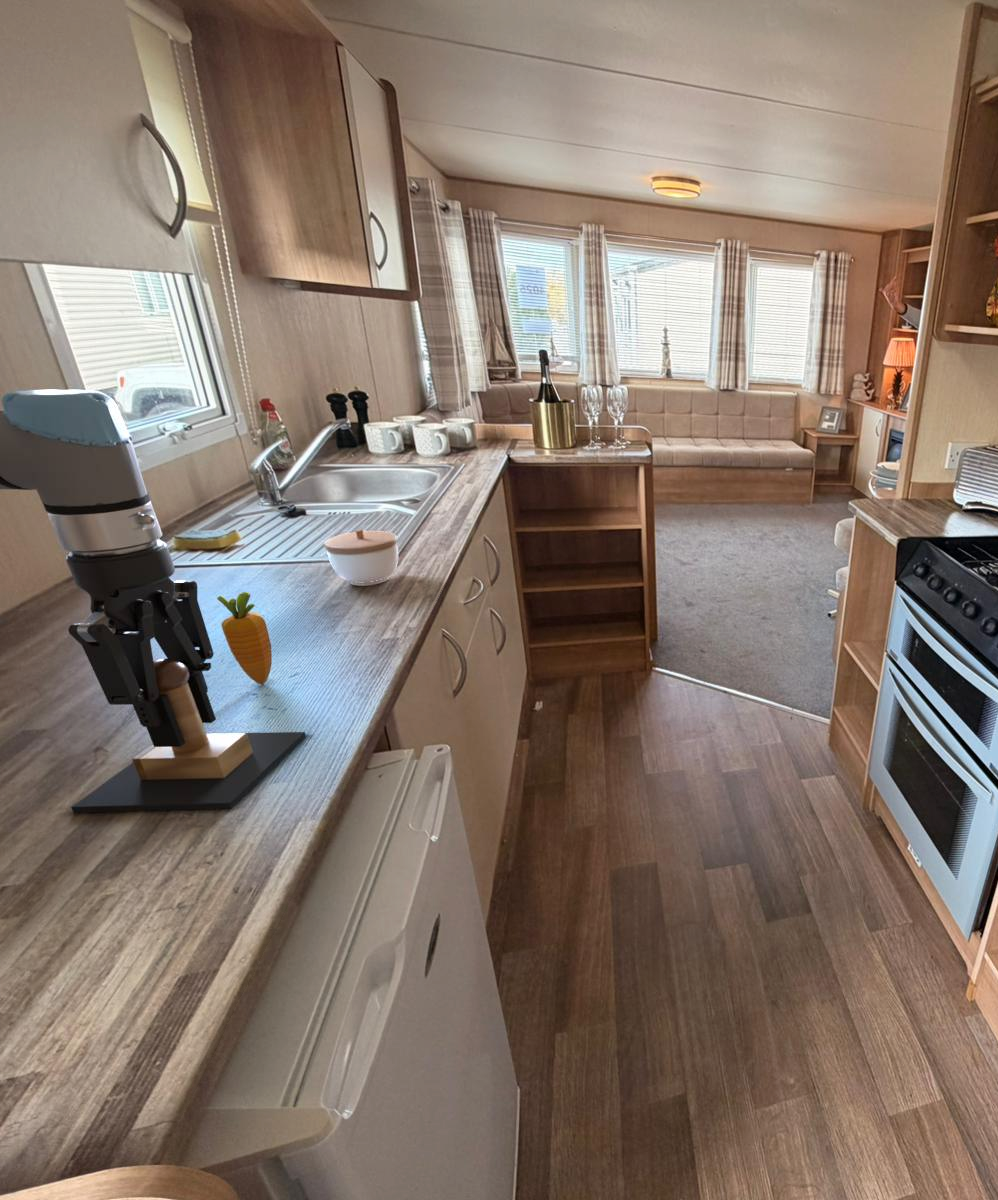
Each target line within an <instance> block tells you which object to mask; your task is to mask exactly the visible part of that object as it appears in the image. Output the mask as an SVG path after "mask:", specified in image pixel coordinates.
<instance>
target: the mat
mask: <svg viewBox="0 0 998 1200" xmlns="http://www.w3.org/2000/svg"><path fill="white" fill-rule="evenodd" d="M246 733H247V736H248V739H249V743H250V746H251V749H252V752H253V753H252V754H251V755H250V756H249V757H247V758H246V759H245V760H244V761H243V762H242V763H241V764H240V765H238V766H237V767H236V768H235V769H234V770H233V771H232V772H231V773H229V774H228V775H227V776H226V777H225V778H201V779H153V780H148V779H147V780H141V779H140V777H139V775H138V772H137V770H136V768H135V765H134V763H133V762H131V763H130V764H128V765H127V766H126V767H124V768H123V769H121V770H120V771H118V772H117V773H116V774H114V775H113V776H112V777H110V778H109V779H107V780H106V781H105V782H104V783H102V784H100V785H99V786H98V787H97V788H95V789H94V790H92V791H91V792H89V793H88V794H87V795H86V796H84V797H83V798H81V799H80V800H78V801H77V802H76V803H74V804H73V805H72V806H70V809H71V810H72V813H74V814H75V813H108V812H146V811H148V812H149V811H150V812H151V811H182V810H183V811H184V810H185V811H186V810H188V811H189V810H223V809H224V810H225V809H233V808H234V807H235V806H236V805H237V804H238V803H239V802H240V801H242V799H243V798H244V797H245V796H247V794H248V793H249V792H250V791H252V789H254V787H256V786H257V785H258V783H260V782H261V781H262V780H263V779H264V778H265V777H266V776H267V775H268V774H269V773H270V772H271V771H272V770H273V769H275V767H276V766H278V764H280V763H281V762H282V761H283V759H284V758H286V757H287V756H288V755H289V754H290V753H291V752H292V751H293V750H294V749H295V748H296V747H297V746H298V745H299V744H301V743H302V741H304V739H306V737H307V735H306V732H305V731H293V732H292V731H286V732H285V731H284V732H282V731H279V732H277V731H276V732H275V731H274V732H246ZM206 734H209V732H208V733H207V732H206Z"/></svg>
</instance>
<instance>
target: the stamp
mask: <svg viewBox="0 0 998 1200" xmlns="http://www.w3.org/2000/svg"><path fill="white" fill-rule="evenodd" d="M153 661H154V667H155V673H156V679H157V686H158V692H159V694H167V695H168V698H169V701H170V703H171V706H172V709H173V711H174V714H175V717H176V719H177V722H178V724H179V727H180V730H181V732H182V735H183V738H184V740H185V743H184V744H183V745H182V746H180V747H154V745H153V743H152V744H150V745H149V746H147V747H146V748H145V749H144V750H142V751H141V752H139V753H138V754H137V755H135V756H134V757H132V758H131V761H132V763H134V765H135V768H136V770H137V772H138V775H139V777H140V779H141V780H147V779H148V780H153V779H201V778H225V777H226V776H227V775H228V774H229V773H231V772H232V771H233V770H234V769H235V768H236V767H237V766H238V765H240V764H241V763H242V762H243V761H244V760H245V759H246V758H247V757H249V756H250V755H251V754H252V753H253V752H252V749H251V746H250V743H249V739H248V736H247V733H248V732H213V733H212V732H211V733H209V732H208V733H209V734H206V733H207V731H206V729H205V725H204V723H202V720H201V718H200V715H199V712H198V709H197V706H196V704H195V701H194V698H193V695H192V693H191V690H190V687H189V684H188V682H187V681H188V679H189V670H188V668H187V667H186V666H185V665H184V664H183V663H182V662H180V661H177V660H174V659H168V658H160V659H155V660H153Z"/></svg>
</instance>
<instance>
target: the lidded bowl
mask: <svg viewBox="0 0 998 1200" xmlns="http://www.w3.org/2000/svg"><path fill="white" fill-rule="evenodd" d="M323 545H324V549H325V550H326V554H327V557H328V560H329V563H330V566H331V567H332V569H333V571H334V572H335V573H336V574H337V575H338V576H339V577H340V578H342V579H343V580H345V581H347V582H349V581H351V582H349V584H350V585H351V586H356V587H369V586H375V585H380V584H382V583H385V582H387V581H388V580H390V577H391V576H392V575H393V573H394V572H395V571H396V569H397V566H398V563H399V546H398V538H397V535H396V534H395V533H394V532H390V531H383V530H363V529H356V530H355V531H352V532H345V533H341V534H338V535H334V536H332V537H330V538H328V539H326V540H325V541H324V543H323ZM388 576H389V577H388ZM386 577H387V578H386ZM384 578H385V579H384ZM380 579H382V580H380ZM376 580H378V581H376ZM370 581H373V582H370ZM355 582H364V583H355Z"/></svg>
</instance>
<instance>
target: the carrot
mask: <svg viewBox="0 0 998 1200" xmlns="http://www.w3.org/2000/svg"><path fill="white" fill-rule="evenodd" d="M250 598H251V593H250V592H247V591H243V592H241V593H239V594H238V595H237V597H236V598H231V599H230V600H229V601H228V600H227V599H226V598H225V597H224V596H222V595H218V596H217V597H216V600H218V602H220V603H221V604H222V605H223V606H224V607H225V608H226V609H227V610H228V611H229V612H230V613H231V614H232V615H231V616H229V617H227V618H225V619H224V620H223V621H221V629H222V631H223V635H224V637H225V641H226V642H227V645H228V648H229V649H230V652H231V654H232V655H233V657H234V659H235V660H236V662H237V663H238V665H239V666H240V668H241V669H242V671H243V672H244V673H245V674H246V675H247V676H248V677H249V678H250V679H251V680H252V681H254V682H255V683H256V684H258V685H261V686H263V685H264V684H265V683H266V682H268V679H269V676H270V673H271V669H272V663H273V662H272V655H273V654H272V644H271V638H270V634H269V630H268V626H267V623H266V621H265V619H264V618H263V616H262V615H261V614H260V613H257V612H250V611H252V609H254V607H255V606H256V604H255V603H250V604H248V602H249V601H250Z"/></svg>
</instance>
